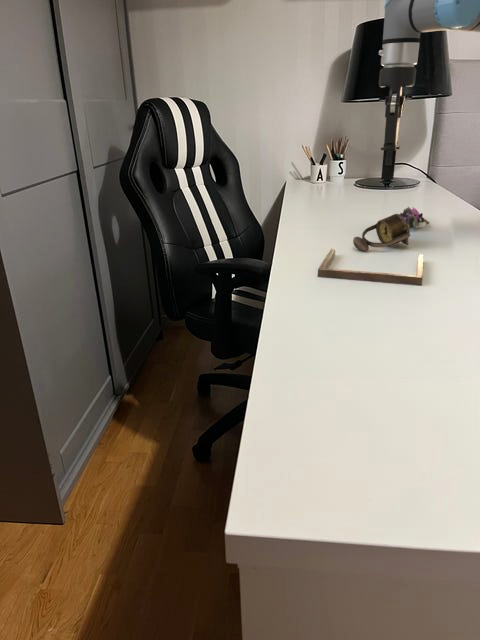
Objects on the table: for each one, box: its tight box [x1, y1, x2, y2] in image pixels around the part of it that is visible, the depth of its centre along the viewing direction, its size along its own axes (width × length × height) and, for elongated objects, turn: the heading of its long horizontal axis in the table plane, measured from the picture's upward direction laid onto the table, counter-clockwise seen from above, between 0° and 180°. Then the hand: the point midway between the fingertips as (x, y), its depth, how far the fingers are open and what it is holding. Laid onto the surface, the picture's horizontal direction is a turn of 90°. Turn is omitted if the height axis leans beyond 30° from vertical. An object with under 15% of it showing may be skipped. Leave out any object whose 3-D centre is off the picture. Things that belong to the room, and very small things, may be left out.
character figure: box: [399, 206, 430, 229], centre depth 131 cm, size 9×4×16 cm
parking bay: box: [317, 248, 424, 286], centre depth 99 cm, size 19×14×2 cm
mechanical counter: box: [352, 213, 411, 252], centre depth 112 cm, size 7×13×10 cm
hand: (387, 179), depth 117 cm, fingers closed
